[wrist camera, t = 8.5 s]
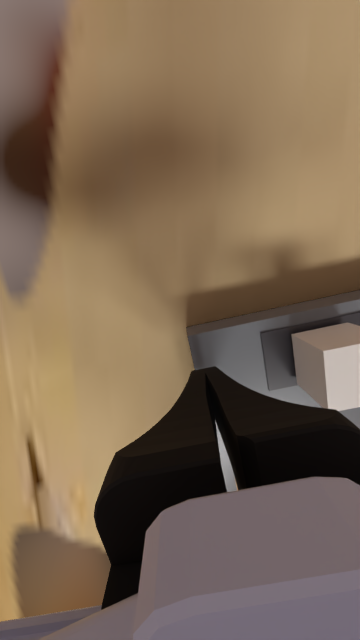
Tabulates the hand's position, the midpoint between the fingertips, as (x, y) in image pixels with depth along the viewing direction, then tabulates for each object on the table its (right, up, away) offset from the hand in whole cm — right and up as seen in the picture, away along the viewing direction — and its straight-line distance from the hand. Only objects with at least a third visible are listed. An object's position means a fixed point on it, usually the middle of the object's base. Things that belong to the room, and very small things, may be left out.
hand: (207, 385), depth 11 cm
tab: (+6, +2, +1) cm, 7 cm away
